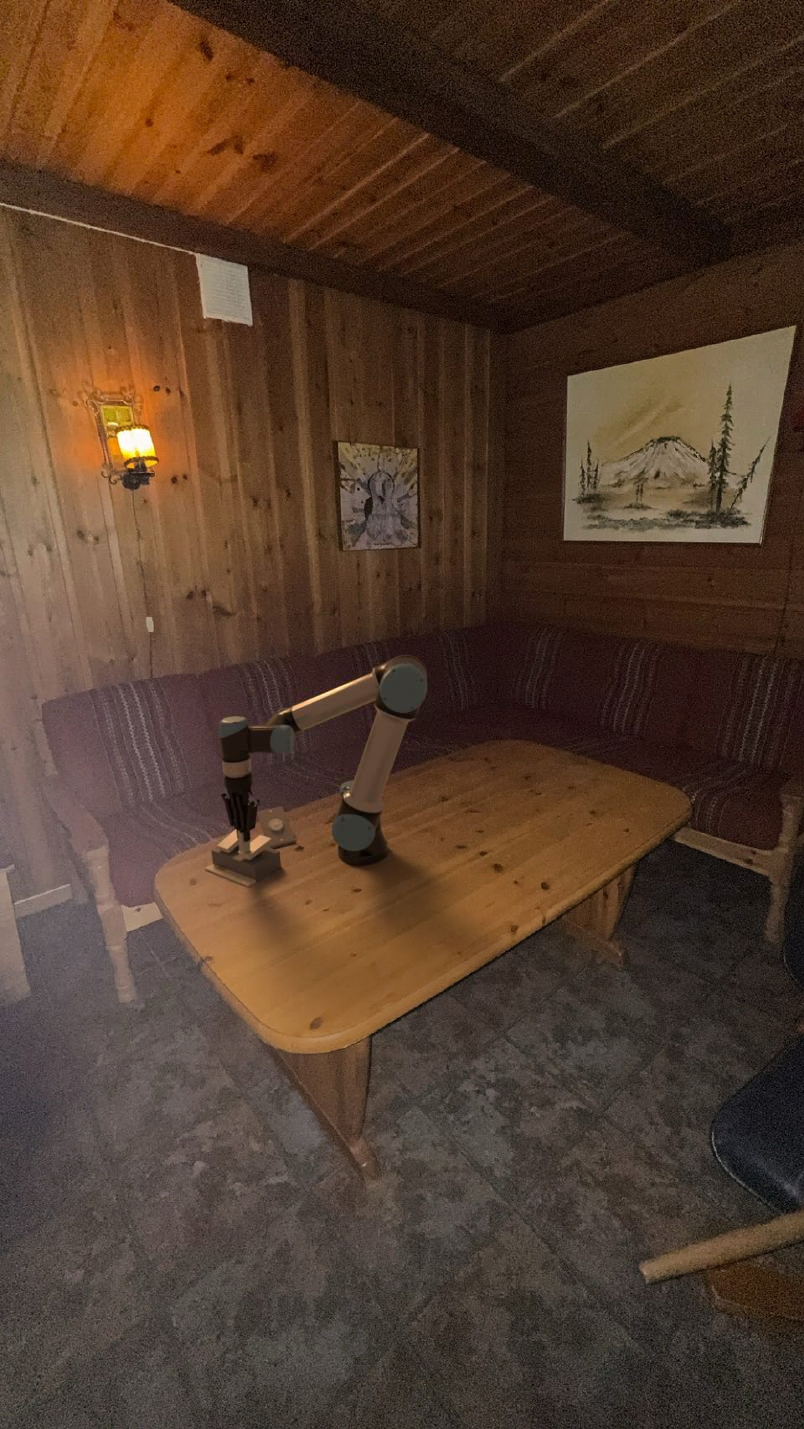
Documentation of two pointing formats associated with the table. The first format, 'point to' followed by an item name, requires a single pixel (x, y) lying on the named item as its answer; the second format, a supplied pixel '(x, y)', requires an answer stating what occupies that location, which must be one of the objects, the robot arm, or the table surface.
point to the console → (244, 865)
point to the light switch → (276, 827)
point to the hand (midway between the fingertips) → (245, 850)
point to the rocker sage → (256, 847)
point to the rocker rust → (229, 842)
